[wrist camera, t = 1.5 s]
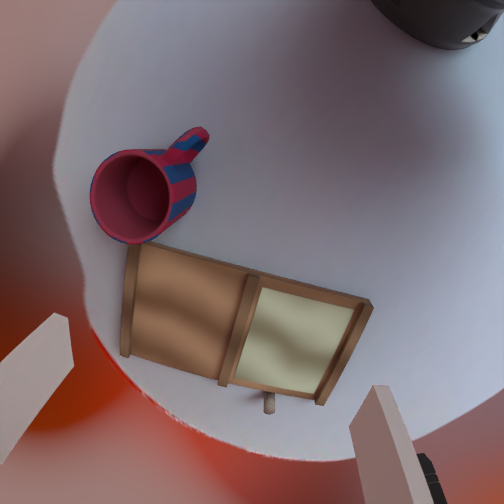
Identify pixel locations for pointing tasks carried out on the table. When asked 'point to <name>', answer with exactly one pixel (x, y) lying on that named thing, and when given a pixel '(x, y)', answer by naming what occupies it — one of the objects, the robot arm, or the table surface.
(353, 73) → the table surface
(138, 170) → the mug
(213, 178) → the table surface
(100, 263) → the table surface
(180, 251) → the brown divided flat frame
